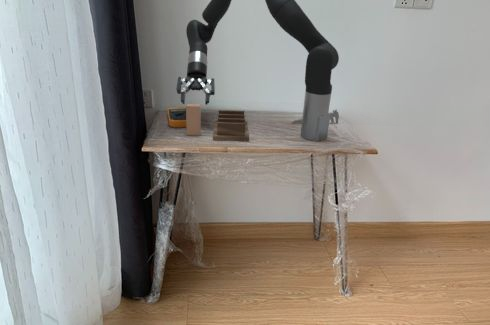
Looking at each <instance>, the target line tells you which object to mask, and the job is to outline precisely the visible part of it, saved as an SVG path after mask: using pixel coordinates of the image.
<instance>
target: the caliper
mask: <svg viewBox="0 0 490 325" xmlns="http://www.w3.org/2000/svg"><path fill="white" fill-rule="evenodd" d="M328 113H329V114H330V122H331V124H334V122H335V123H336V124H338V123H339V118H340V116H339V111H338V110H337V109H335V110H334V109H332V111H330V112H328ZM334 117H335V118H334ZM334 119H335V120H334ZM290 123H291V124H302V118H297V119H294V120H292V121H290Z"/></svg>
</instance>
